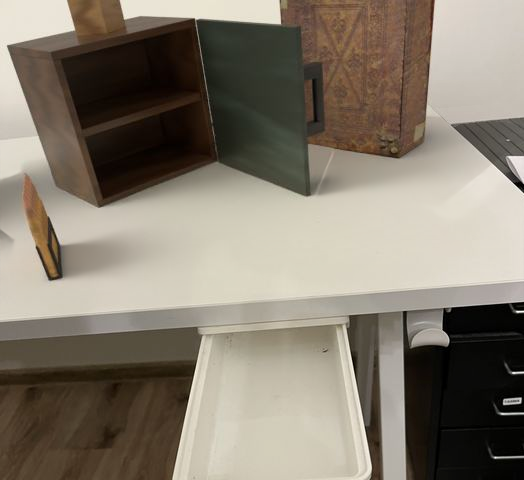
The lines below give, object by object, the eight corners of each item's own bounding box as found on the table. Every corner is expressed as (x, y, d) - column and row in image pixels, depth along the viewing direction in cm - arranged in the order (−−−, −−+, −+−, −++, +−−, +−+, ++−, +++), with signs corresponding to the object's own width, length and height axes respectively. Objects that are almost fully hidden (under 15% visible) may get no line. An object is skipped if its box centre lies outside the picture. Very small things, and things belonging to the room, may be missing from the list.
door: (246, 151, 110) (229, 12, 95) (337, 183, 92) (333, 17, 77) (218, 162, 107) (195, 19, 92) (306, 196, 89) (295, 27, 74)
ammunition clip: (62, 277, 77) (30, 195, 69) (48, 280, 76) (15, 199, 69) (60, 246, 85) (31, 169, 78) (48, 248, 85) (18, 172, 77)
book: (289, 141, 112) (275, -37, 94) (315, 127, 118) (307, -44, 99) (400, 158, 98) (409, -47, 80) (424, 142, 103) (439, -55, 85)
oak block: (76, 36, 91) (64, -7, 87) (96, 29, 95) (85, -12, 92) (107, 33, 89) (96, -10, 85) (126, 26, 93) (116, -15, 90)
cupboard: (218, 161, 108) (195, 18, 93) (99, 208, 95) (50, 51, 80) (168, 145, 119) (140, 15, 104) (55, 186, 107) (6, 45, 92)
